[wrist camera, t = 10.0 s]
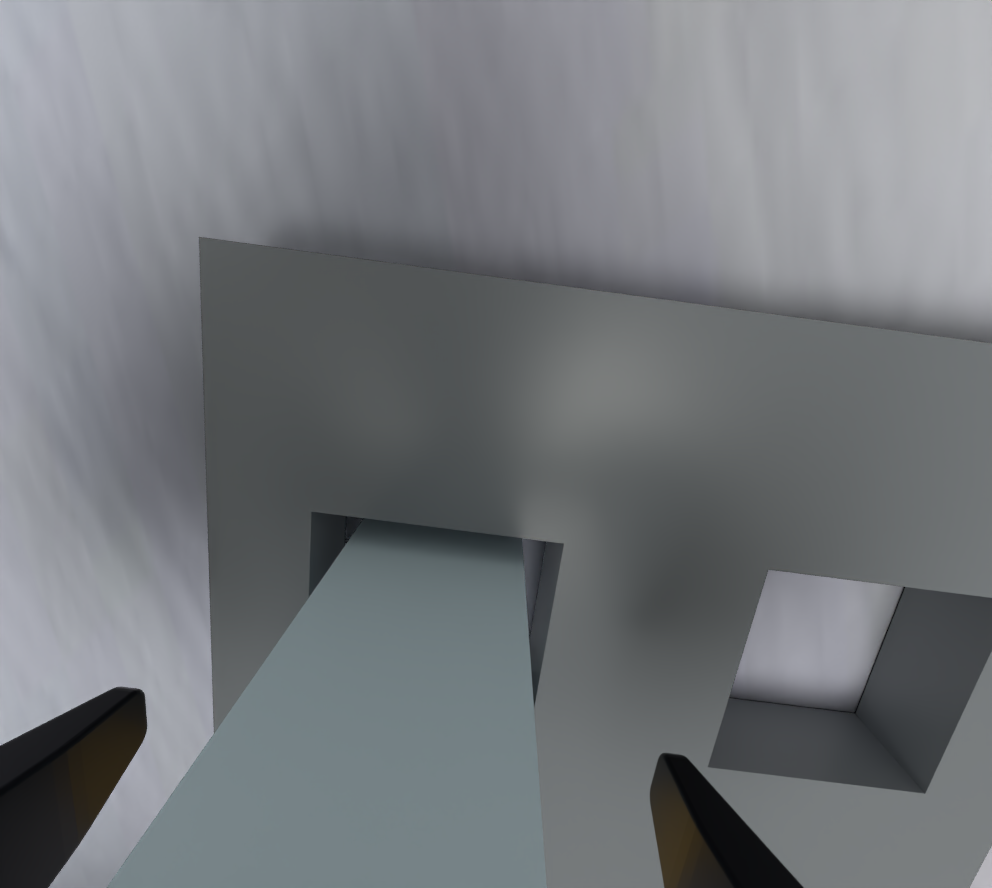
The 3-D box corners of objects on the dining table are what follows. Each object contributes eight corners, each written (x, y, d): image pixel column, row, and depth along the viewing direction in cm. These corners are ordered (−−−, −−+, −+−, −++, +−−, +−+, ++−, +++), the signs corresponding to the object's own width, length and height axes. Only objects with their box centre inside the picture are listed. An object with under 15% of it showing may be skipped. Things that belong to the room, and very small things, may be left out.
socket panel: (871, 851, 16) (943, 957, 13) (262, 779, 16) (213, 872, 13) (1088, 363, 12) (1256, 378, 9) (263, 253, 11) (192, 235, 9)
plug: (502, 647, 14) (494, 1360, 4) (366, 631, 14) (63, 1318, 4) (521, 521, 13) (561, 1100, 3) (373, 504, 13) (-1, 1040, 3)
